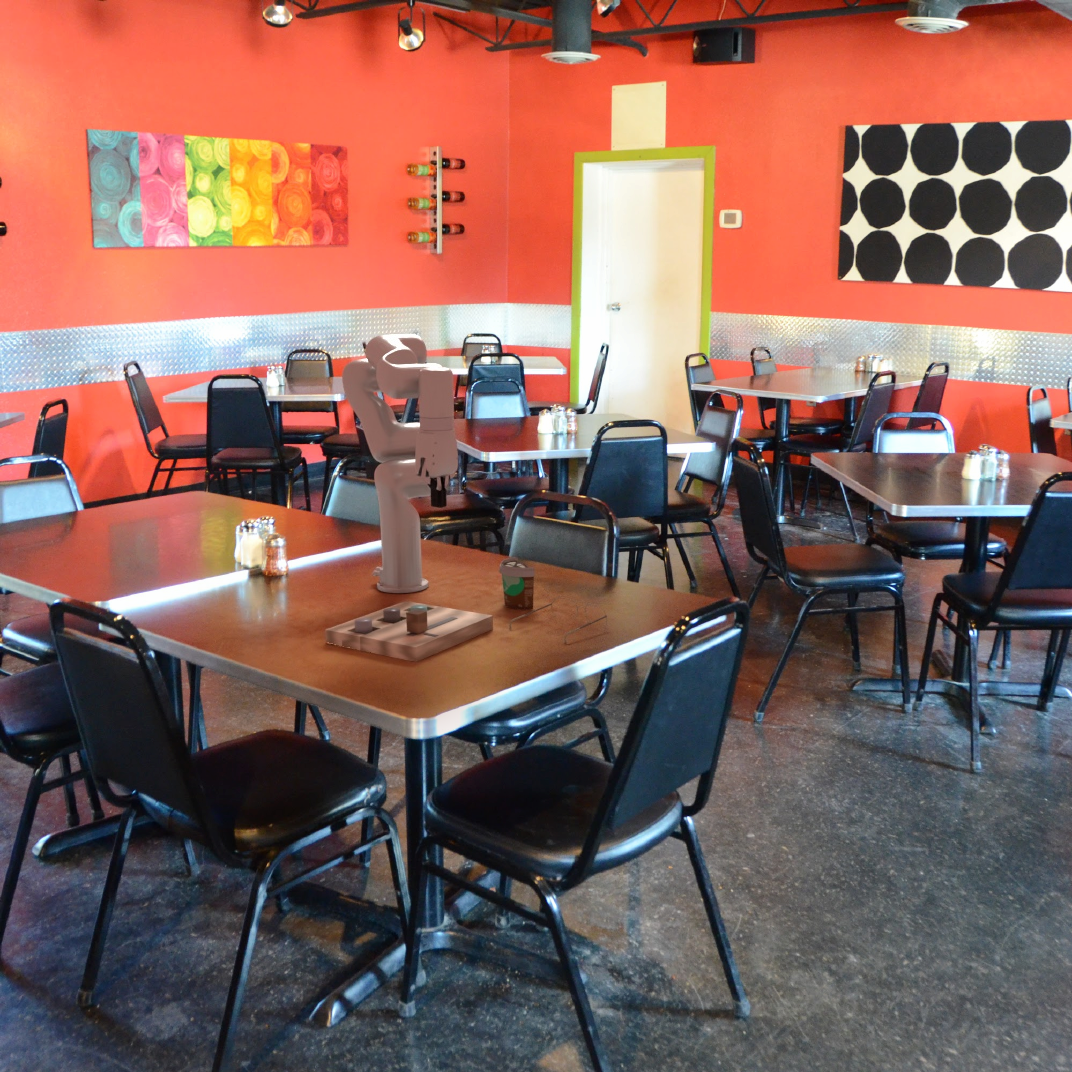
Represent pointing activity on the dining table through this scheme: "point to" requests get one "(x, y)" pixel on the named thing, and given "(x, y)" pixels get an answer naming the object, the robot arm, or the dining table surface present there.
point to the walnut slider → (416, 621)
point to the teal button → (419, 607)
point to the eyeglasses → (572, 618)
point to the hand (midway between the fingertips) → (438, 506)
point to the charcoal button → (391, 615)
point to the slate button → (363, 625)
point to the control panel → (397, 642)
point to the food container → (517, 584)
